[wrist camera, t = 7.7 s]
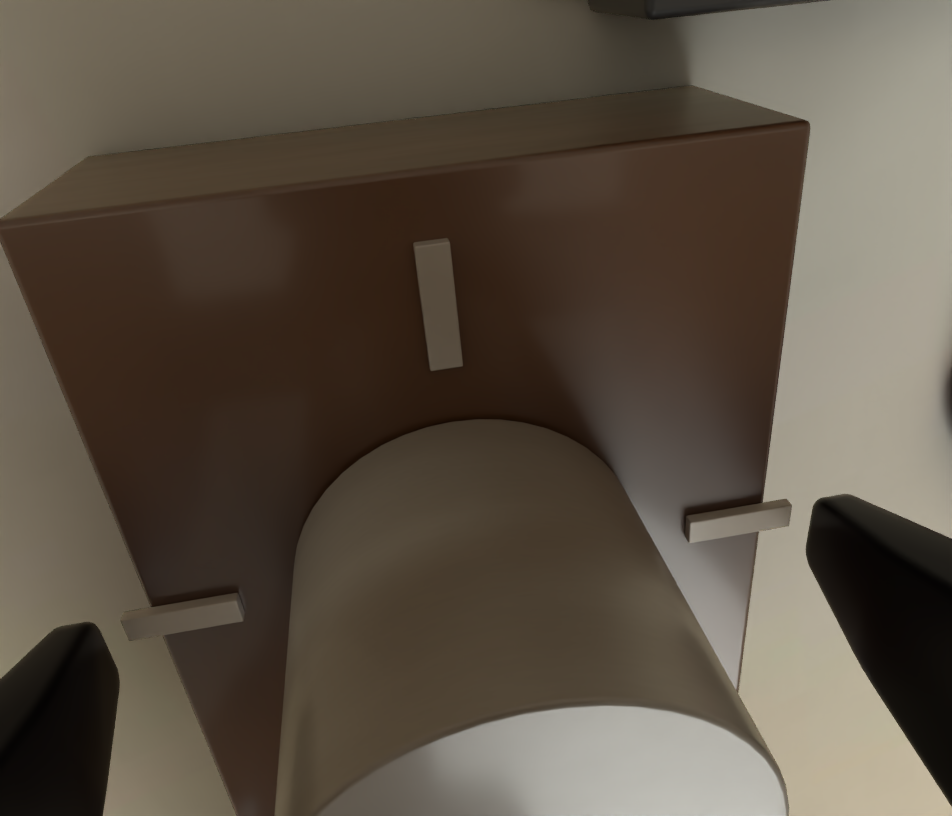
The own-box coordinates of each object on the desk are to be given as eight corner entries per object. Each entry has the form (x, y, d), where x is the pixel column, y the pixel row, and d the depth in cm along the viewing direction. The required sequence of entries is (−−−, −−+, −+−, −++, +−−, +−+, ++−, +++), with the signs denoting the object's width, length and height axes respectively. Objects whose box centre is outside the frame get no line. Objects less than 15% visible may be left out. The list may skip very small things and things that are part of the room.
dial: (637, 389, 9) (849, 684, 5) (632, 653, 11) (779, 990, 7) (256, 450, 9) (191, 816, 5) (330, 711, 11) (326, 1097, 7)
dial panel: (680, 616, 15) (754, 754, 13) (247, 695, 15) (226, 861, 12) (717, 81, 10) (851, 119, 8) (58, 159, 10) (-52, 232, 7)
